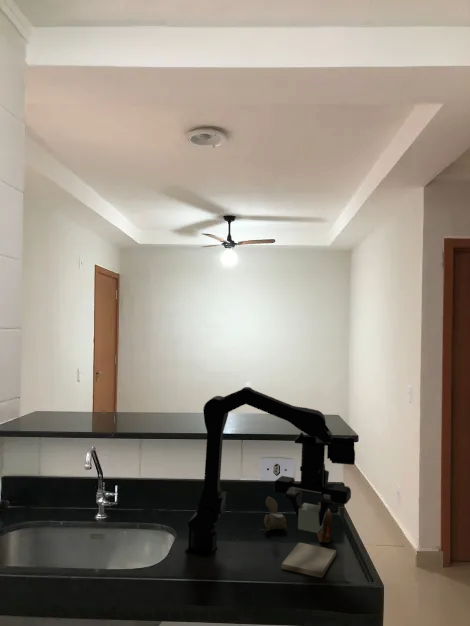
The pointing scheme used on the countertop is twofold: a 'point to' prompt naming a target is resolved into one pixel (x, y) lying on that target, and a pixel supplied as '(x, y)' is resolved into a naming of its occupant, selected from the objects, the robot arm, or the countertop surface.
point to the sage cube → (309, 518)
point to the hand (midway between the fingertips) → (310, 523)
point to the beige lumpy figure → (274, 516)
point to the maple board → (309, 559)
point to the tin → (325, 527)
